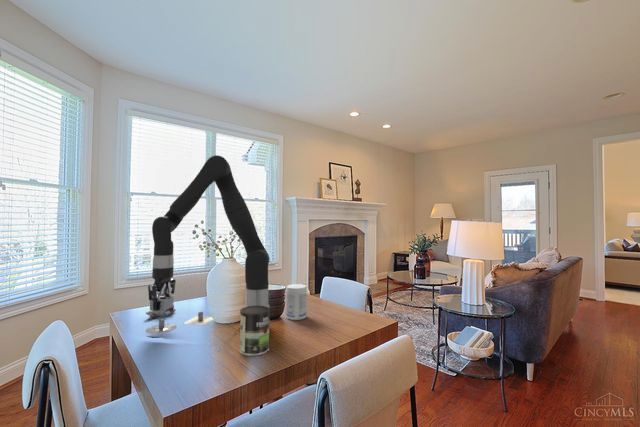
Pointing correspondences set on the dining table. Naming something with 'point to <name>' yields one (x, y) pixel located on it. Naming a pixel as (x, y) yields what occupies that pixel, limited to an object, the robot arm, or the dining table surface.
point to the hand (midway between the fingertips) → (161, 307)
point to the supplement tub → (296, 302)
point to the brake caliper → (160, 312)
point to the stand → (199, 319)
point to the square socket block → (163, 303)
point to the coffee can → (254, 330)
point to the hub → (160, 328)
